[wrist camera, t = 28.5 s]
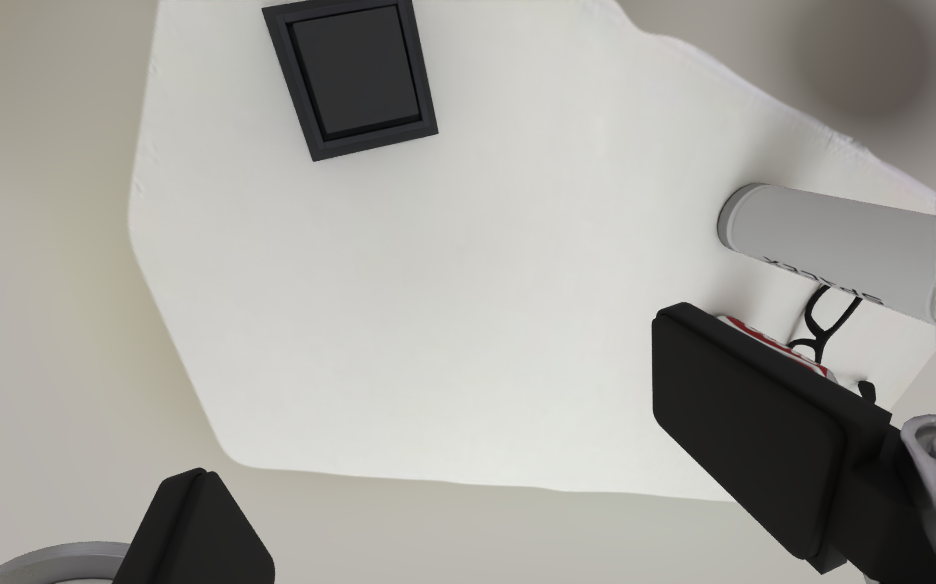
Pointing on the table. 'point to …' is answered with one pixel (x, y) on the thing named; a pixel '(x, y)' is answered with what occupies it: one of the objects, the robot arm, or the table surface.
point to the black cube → (357, 68)
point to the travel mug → (839, 244)
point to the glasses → (823, 336)
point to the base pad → (320, 143)
